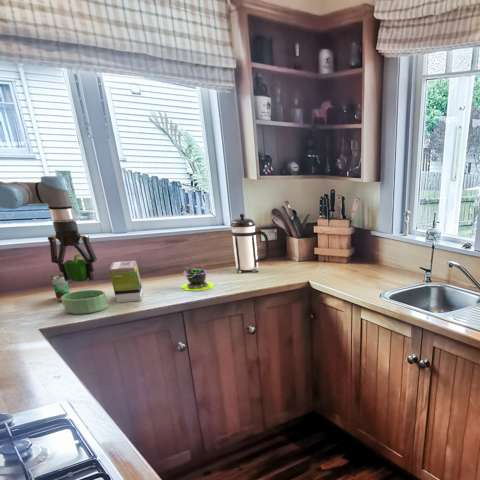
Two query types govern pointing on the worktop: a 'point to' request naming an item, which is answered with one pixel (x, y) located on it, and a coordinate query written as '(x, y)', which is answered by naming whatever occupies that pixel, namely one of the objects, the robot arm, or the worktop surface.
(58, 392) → the worktop surface
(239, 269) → the coffee press
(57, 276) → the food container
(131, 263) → the tea box
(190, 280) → the toy cauldron
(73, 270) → the bell pepper
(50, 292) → the worktop surface
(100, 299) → the bowl
